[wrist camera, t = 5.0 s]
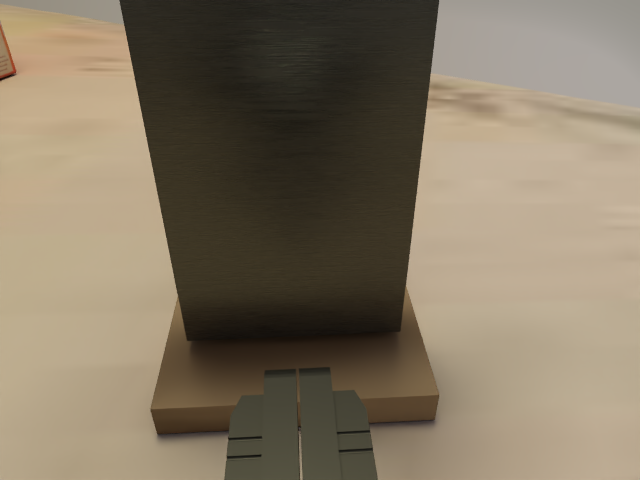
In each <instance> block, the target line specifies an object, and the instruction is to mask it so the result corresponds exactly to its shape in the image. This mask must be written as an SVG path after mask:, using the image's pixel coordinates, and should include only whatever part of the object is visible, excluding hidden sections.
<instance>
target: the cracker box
mask: <svg viewBox="0 0 640 480" xmlns="http://www.w3.org/2000/svg"><path fill="white" fill-rule="evenodd" d="M14 73H16V69H15V66H14V63H13V60H12V57H11V53H10V50H9V47H8V44H7V41H6V38H5V34H4V31H3V28H2V25H1V22H0V78H3V77H6V76H9V75H11V74H14Z"/></svg>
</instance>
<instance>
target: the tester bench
mask: <svg viewBox="0 0 640 480" xmlns="http://www.w3.org/2000/svg"><path fill="white" fill-rule="evenodd" d="M319 367H330V371H331V380H332V390H333V391H342V390H355V392H356V393H357V395H358V396H359V398H360V400H361V401H362V403H363V404H364V406H365V407H366V409H367V416H368V422H369V423H378V422H397V421H416V420H435V415H436V410H437V404H438V399H439V392H438V389H437V386H436V382H435V379H434V376H433V373H432V369H431V366H430V363H429V359H428V356H427V353H426V350H425V346H424V343H423V340H422V337H421V333H420V330H419V327H418V323H417V320H416V317H415V314H414V310H413V307H412V304H411V300H410V297H409V294H408V291H407V287H406V288H405V296H404V305H403V314H402V322H401V331H400V332H383V333H360V334H337V335H314V336H291V337H268V338H245V339H223V340H200V341H187V339H186V334H185V329H184V324H183V319H182V314H181V308H180V303H179V298H177V302H176V306H175V310H174V315H173V319H172V323H171V327H170V331H169V335H168V339H167V343H166V347H165V351H164V356H163V360H162V364H161V368H160V372H159V376H158V380H157V384H156V388H155V392H154V396H153V401H152V405H151V409H150V410H151V413H152V417H153V421H154V424H155V428H156V431H157V434H168V433H187V432H206V431H225V430H229V426H230V416H231V414H232V412H233V410H234V408H235V407H236V405H237V403H238V401H239V400H240V398H241V396H244V395H264V372H265V370H280V369H296V381H297V406H298V427H301V415H300V387H299V368H319Z"/></svg>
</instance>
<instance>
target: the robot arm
mask: <svg viewBox="0 0 640 480" xmlns="http://www.w3.org/2000/svg"><path fill="white" fill-rule="evenodd" d="M299 387H300V415H301V443H302V471H303V480H378V478H377V472H376V465H375V459H374V453H373V447H372V441H371V434H370V428H369V422H368V416H367V409H366V407H365V406H364V404H363V403H362V401H361V400H360V398H359V396H358V395H357V393H356V392H355V390H342V391H333V390H332V380H331V371H330V367H319V368H299ZM228 439H229V441H228V448H227V461H226V469H225V479H224V480H300V466H299V434H298V406H297V381H296V369H280V370H265V372H264V395H244V396H241V398H240V400H239V401H238V403H237V405H236V407H235V408H234V410H233V412H232V414H231V416H230V426H229V437H228Z"/></svg>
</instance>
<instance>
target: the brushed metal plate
mask: <svg viewBox="0 0 640 480" xmlns="http://www.w3.org/2000/svg"><path fill="white" fill-rule="evenodd" d="M120 5H121V10H122V15H123V21H124V26H125V31H126V36H127V41H128V46H129V51H130V56H131V61H132V66H133V71H134V76H135V81H136V86H137V91H138V96H139V101H140V106H141V112H142V117H143V122H144V127H145V132H146V137H147V142H148V147H149V152H150V157H151V162H152V167H153V172H154V177H155V182H156V187H157V192H158V197H159V202H160V207H161V213H162V218H163V223H164V228H165V233H166V238H167V243H168V248H169V253H170V258H171V263H172V268H173V273H174V278H175V283H176V288H177V293H178V298H179V303H180V308H181V314H182V319H183V324H184V329H185V334H186V339H187V341H200V340H223V339H245V338H268V337H291V336H314V335H337V334H360V333H383V332H400V331H401V322H402V314H403V305H404V296H405V288H406V279H407V271H408V262H409V254H410V245H411V237H412V228H413V219H414V211H415V202H416V194H417V185H418V177H419V168H420V160H421V151H422V143H423V134H424V125H425V117H426V108H427V100H428V91H429V83H430V74H431V66H432V57H433V49H434V39H435V31H436V23H437V14H438V5H439V0H120Z"/></svg>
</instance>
